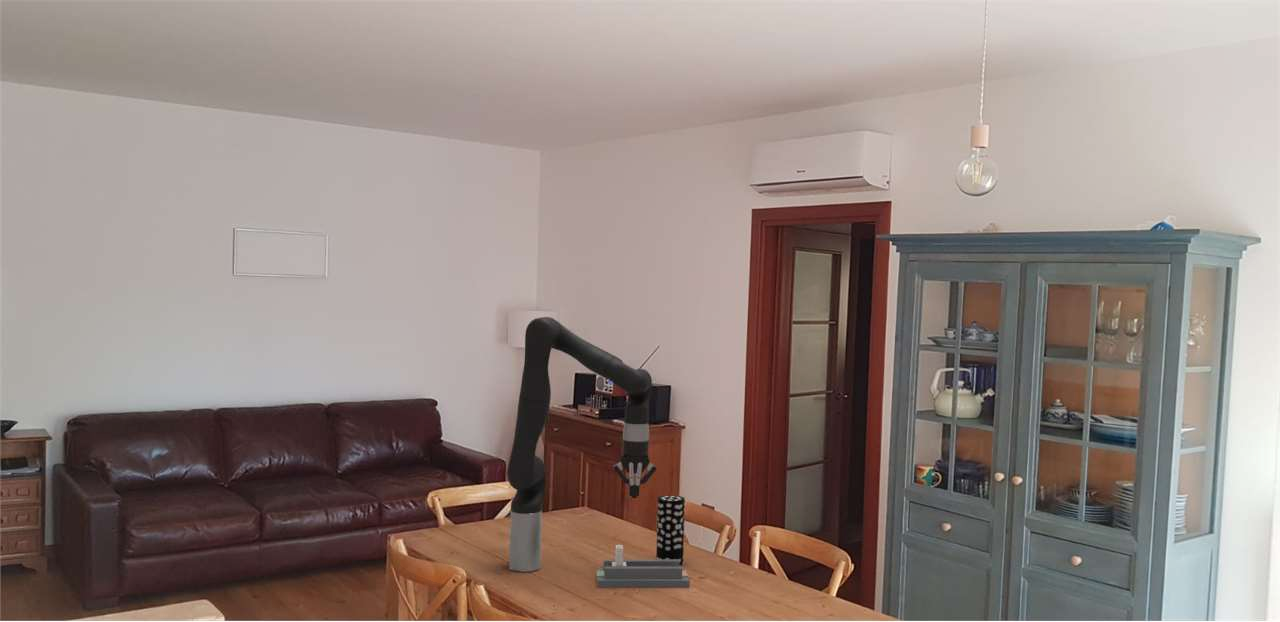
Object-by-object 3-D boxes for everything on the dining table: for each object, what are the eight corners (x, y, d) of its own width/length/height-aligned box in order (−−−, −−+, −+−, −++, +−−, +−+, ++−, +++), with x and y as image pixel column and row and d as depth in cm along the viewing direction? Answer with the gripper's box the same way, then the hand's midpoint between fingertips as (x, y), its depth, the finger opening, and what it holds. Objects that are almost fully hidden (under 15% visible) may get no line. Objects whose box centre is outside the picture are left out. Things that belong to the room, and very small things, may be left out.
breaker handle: (612, 575, 270) (612, 548, 270) (611, 571, 274) (612, 544, 274) (626, 575, 270) (626, 548, 270) (625, 571, 274) (626, 544, 274)
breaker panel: (597, 587, 266) (597, 570, 266) (596, 574, 278) (596, 557, 278) (689, 587, 268) (689, 570, 268) (684, 574, 280) (684, 557, 280)
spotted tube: (680, 567, 287) (682, 502, 286) (653, 565, 288) (655, 500, 288) (685, 560, 295) (686, 496, 294) (658, 558, 296) (660, 494, 296)
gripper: (613, 439, 270) (611, 500, 270) (659, 440, 271) (657, 501, 271) (612, 435, 277) (610, 494, 278) (657, 436, 278) (655, 495, 279)
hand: (634, 497), depth 275 cm, fingers closed
